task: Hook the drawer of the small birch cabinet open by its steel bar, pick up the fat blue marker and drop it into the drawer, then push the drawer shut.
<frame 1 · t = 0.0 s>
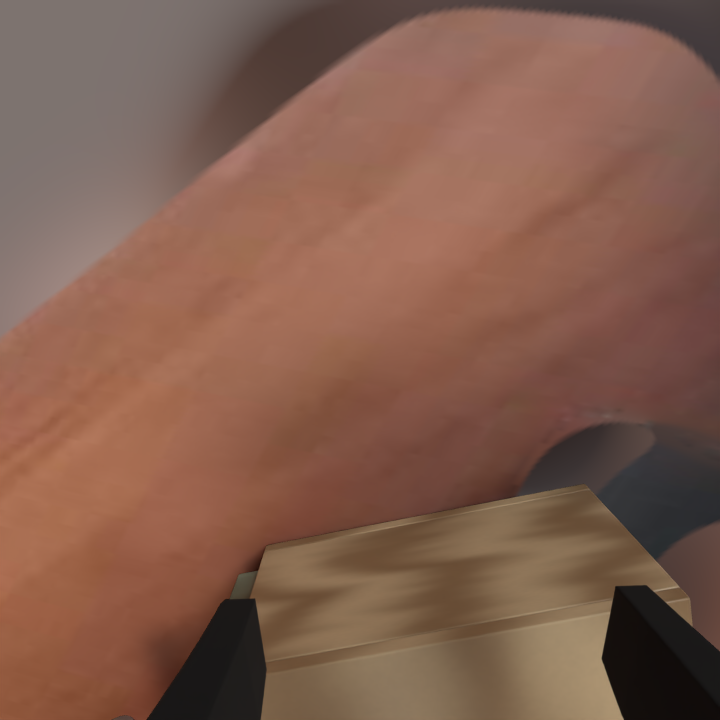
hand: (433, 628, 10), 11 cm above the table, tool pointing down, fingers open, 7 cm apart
cabinet: (450, 644, 23), on the table
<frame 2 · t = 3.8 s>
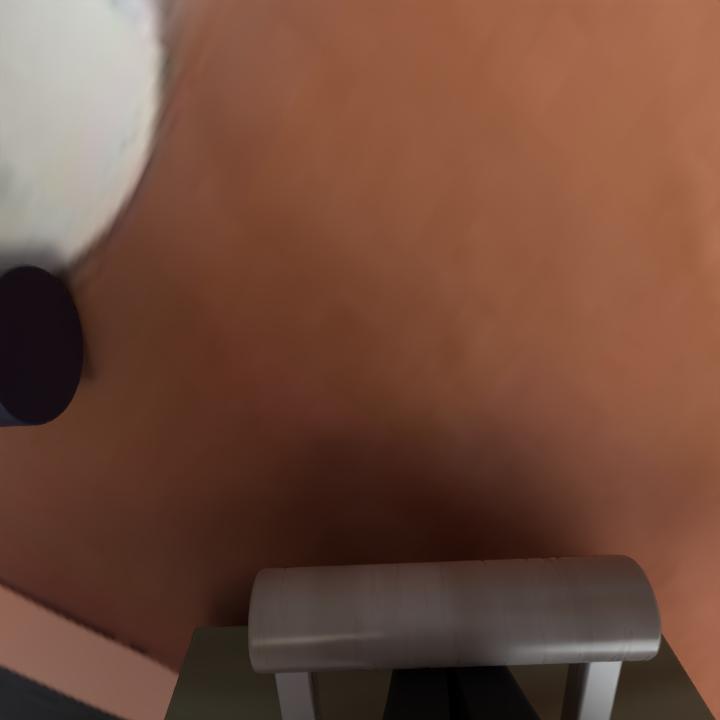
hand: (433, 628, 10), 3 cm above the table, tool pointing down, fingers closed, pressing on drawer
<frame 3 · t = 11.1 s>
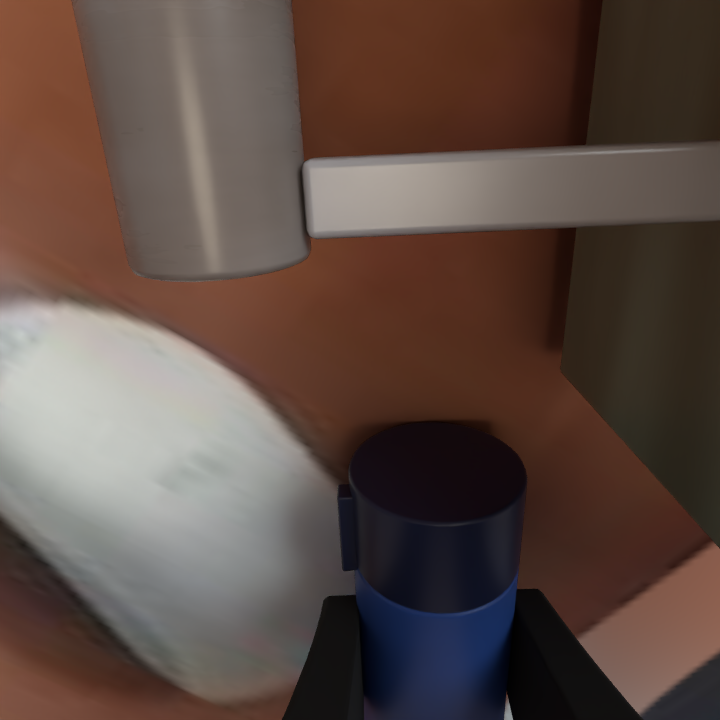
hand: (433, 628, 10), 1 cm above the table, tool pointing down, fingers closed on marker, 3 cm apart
marker: (432, 632, 10), point 1 cm above the table, touching gripper
when the fingers open (5 cm above the table, at t = 14.9 s): marker drops 2 cm, resting on drawer.
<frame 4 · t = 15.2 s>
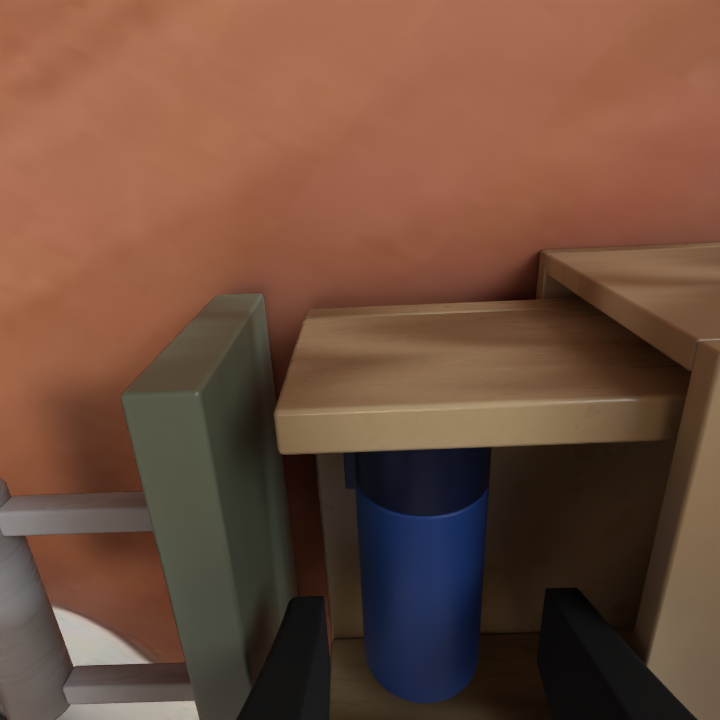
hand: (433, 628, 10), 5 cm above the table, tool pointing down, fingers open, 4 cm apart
marker: (420, 549, 12), point 3 cm above the table, touching drawer
drawer: (378, 560, 12), point 3 cm above the table, slide at 6.9 cm, touching marker
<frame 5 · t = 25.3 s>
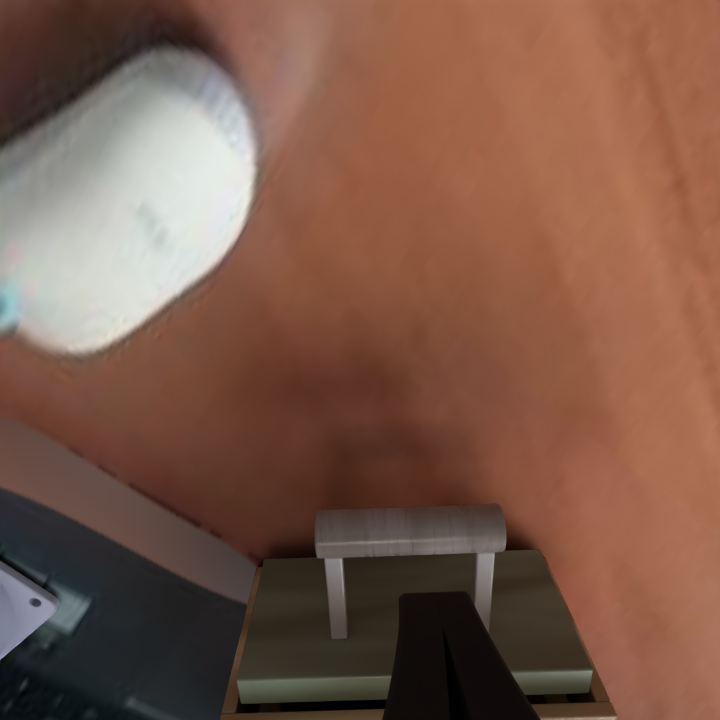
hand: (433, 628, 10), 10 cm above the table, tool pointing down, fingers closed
marker: (407, 671, 21), point 3 cm above the table, tilted 31°, touching drawer
cabinet: (402, 666, 26), on the table
drawer: (407, 674, 21), point 4 cm above the table, slide at 0.0 cm, touching marker
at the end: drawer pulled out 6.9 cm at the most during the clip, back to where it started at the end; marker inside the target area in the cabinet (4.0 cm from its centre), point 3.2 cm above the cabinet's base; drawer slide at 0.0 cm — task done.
